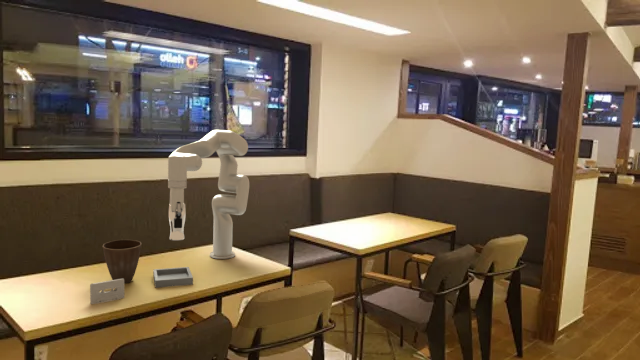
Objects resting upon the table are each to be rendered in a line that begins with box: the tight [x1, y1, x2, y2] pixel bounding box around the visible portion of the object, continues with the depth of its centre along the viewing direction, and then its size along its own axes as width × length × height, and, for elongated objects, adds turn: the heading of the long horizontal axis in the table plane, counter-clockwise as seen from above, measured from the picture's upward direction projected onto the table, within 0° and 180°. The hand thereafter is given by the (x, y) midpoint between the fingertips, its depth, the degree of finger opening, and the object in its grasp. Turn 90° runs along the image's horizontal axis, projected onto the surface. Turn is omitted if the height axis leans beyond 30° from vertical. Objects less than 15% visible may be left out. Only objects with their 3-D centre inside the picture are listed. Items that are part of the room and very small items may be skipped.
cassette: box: [89, 278, 125, 305], centre depth 180 cm, size 12×2×8 cm, turn 129°
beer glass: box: [168, 203, 187, 241], centre depth 203 cm, size 7×7×15 cm
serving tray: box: [152, 266, 194, 289], centre depth 205 cm, size 15×15×3 cm
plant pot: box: [102, 239, 142, 285], centre depth 200 cm, size 15×15×16 cm
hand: (177, 225), depth 203 cm, fingers closed on beer glass, 6 cm apart
